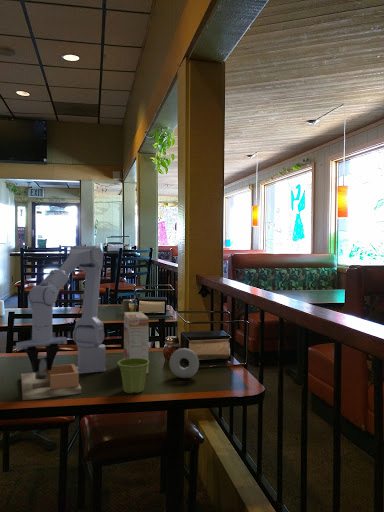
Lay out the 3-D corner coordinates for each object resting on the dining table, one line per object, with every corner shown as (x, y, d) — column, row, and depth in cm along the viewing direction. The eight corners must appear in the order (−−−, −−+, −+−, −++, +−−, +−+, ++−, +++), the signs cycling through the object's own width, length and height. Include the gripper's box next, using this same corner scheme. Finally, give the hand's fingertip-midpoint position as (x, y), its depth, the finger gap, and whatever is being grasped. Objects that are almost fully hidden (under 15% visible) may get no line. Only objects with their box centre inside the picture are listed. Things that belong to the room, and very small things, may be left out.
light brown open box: (73, 376, 133) (73, 363, 133) (78, 386, 123) (78, 372, 123) (47, 379, 130) (47, 366, 130) (50, 389, 120) (50, 375, 120)
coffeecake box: (123, 364, 155) (123, 312, 155) (141, 362, 157) (142, 311, 157) (128, 375, 141) (128, 318, 141) (148, 373, 143) (149, 317, 143)
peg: (45, 375, 127) (45, 355, 127) (49, 378, 124) (49, 358, 124) (33, 377, 125) (33, 357, 125) (37, 380, 122) (37, 359, 122)
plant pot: (135, 397, 119) (135, 367, 119) (111, 391, 124) (111, 362, 124) (155, 388, 127) (155, 360, 127) (131, 383, 132) (131, 356, 132)
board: (71, 373, 142) (71, 368, 142) (81, 393, 122) (81, 387, 122) (21, 378, 136) (21, 373, 136) (22, 400, 116) (22, 394, 116)
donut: (199, 377, 139) (199, 347, 139) (198, 380, 136) (198, 349, 136) (170, 376, 140) (170, 346, 140) (168, 379, 137) (168, 348, 137)
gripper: (60, 321, 132) (60, 364, 132) (13, 326, 123) (12, 371, 123) (69, 324, 126) (69, 368, 126) (20, 329, 117) (20, 377, 117)
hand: (42, 370), depth 124 cm, fingers closed on peg, 4 cm apart
